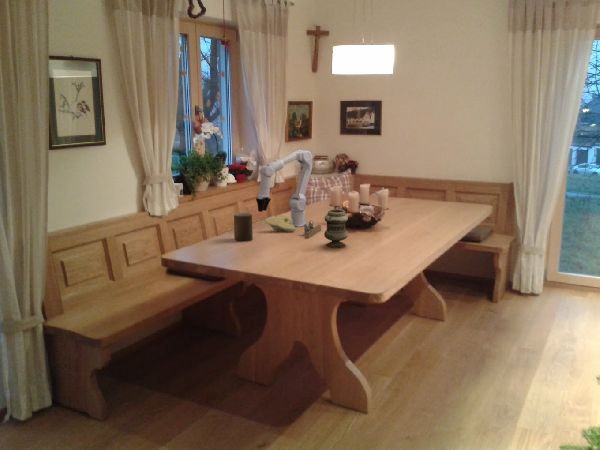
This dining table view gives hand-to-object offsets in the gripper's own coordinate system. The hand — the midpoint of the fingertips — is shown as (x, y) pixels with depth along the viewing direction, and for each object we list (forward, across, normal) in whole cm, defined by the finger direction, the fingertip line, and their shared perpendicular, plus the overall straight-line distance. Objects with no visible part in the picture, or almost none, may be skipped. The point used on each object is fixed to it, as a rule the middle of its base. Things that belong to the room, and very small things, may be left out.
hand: (262, 211), depth 322 cm
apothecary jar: (+9, +24, +48) cm, 54 cm away
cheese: (+10, 0, +12) cm, 16 cm away
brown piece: (+8, +2, +30) cm, 31 cm away
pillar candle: (+14, +21, -2) cm, 26 cm away
